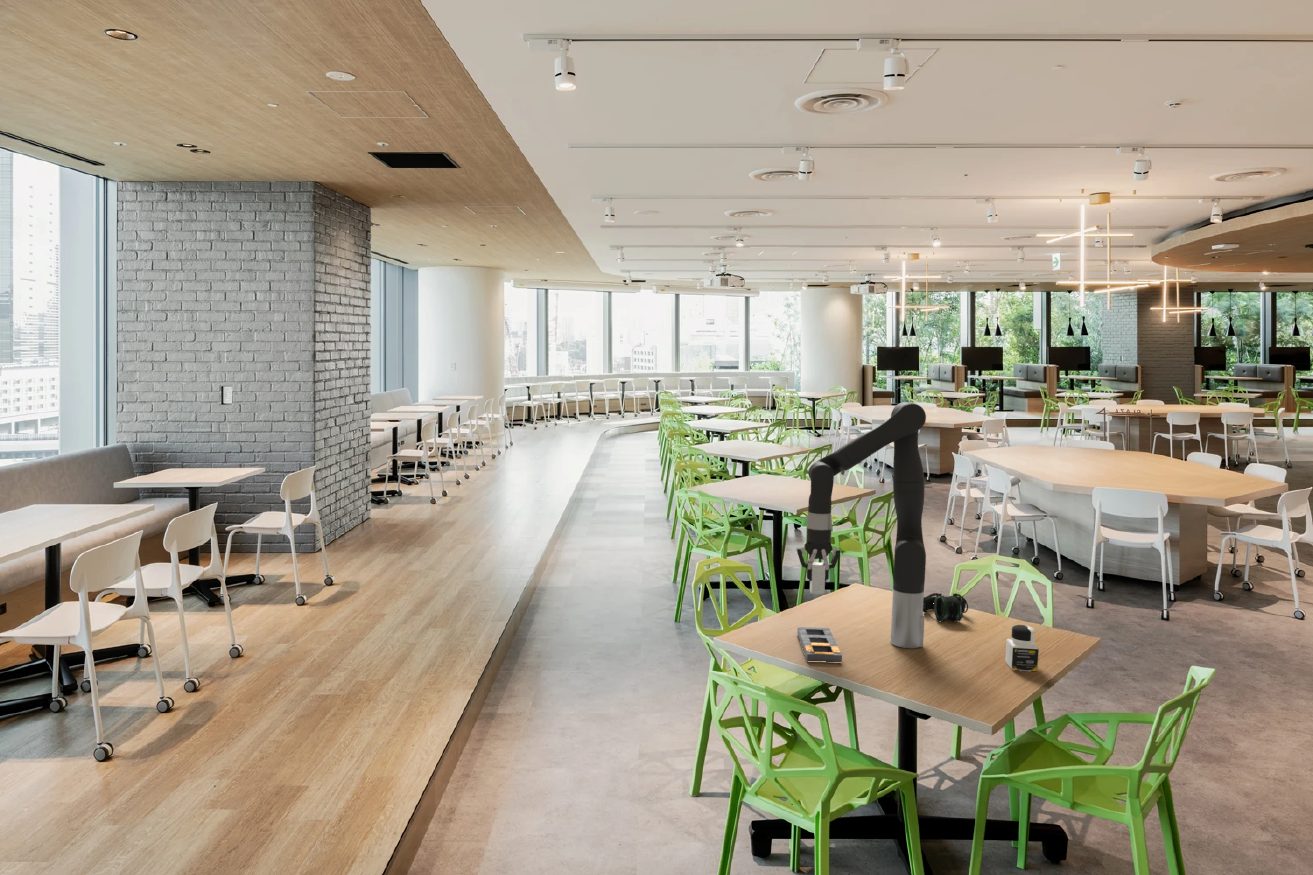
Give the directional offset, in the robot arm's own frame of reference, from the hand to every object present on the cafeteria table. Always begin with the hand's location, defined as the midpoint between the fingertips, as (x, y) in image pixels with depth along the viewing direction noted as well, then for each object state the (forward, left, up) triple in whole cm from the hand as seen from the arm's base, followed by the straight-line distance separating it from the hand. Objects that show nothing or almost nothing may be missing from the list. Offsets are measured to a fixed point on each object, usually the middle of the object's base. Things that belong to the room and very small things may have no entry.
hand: (817, 580), depth 266 cm
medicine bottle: (-57, +18, -19) cm, 63 cm away
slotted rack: (0, +8, -19) cm, 21 cm away
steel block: (0, 0, -4) cm, 4 cm away
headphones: (-48, -30, -20) cm, 60 cm away
